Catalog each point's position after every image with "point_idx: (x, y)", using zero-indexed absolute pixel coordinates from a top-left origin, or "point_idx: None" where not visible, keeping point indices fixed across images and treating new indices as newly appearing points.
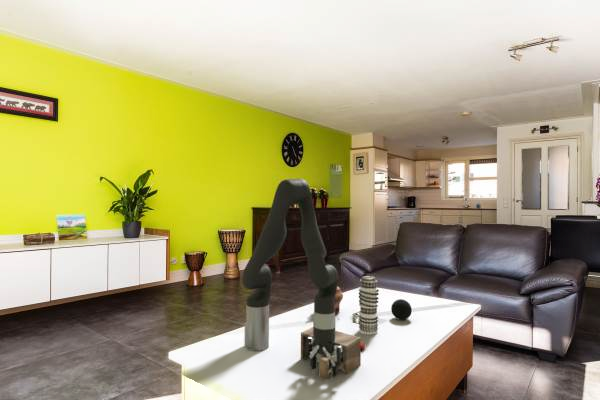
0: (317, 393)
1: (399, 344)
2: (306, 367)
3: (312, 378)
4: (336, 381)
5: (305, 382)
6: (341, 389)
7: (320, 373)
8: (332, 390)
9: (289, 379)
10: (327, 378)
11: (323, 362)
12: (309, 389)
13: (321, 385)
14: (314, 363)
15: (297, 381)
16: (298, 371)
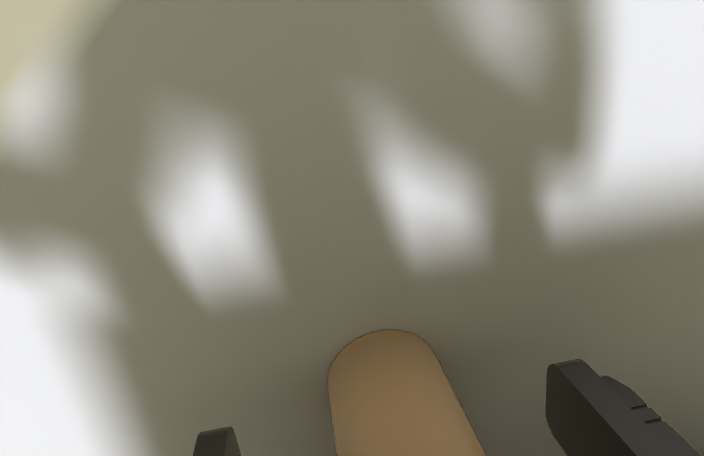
0: (123, 18)
1: None
2: (665, 374)
3: (465, 263)
4: (213, 417)
5: (469, 123)
6: (15, 344)
7: (408, 370)
8: (63, 245)
9: (690, 12)
10: (328, 385)
11: None
12: (295, 16)
13: (262, 227)
14: (593, 447)
15: (570, 58)
16: (696, 252)
